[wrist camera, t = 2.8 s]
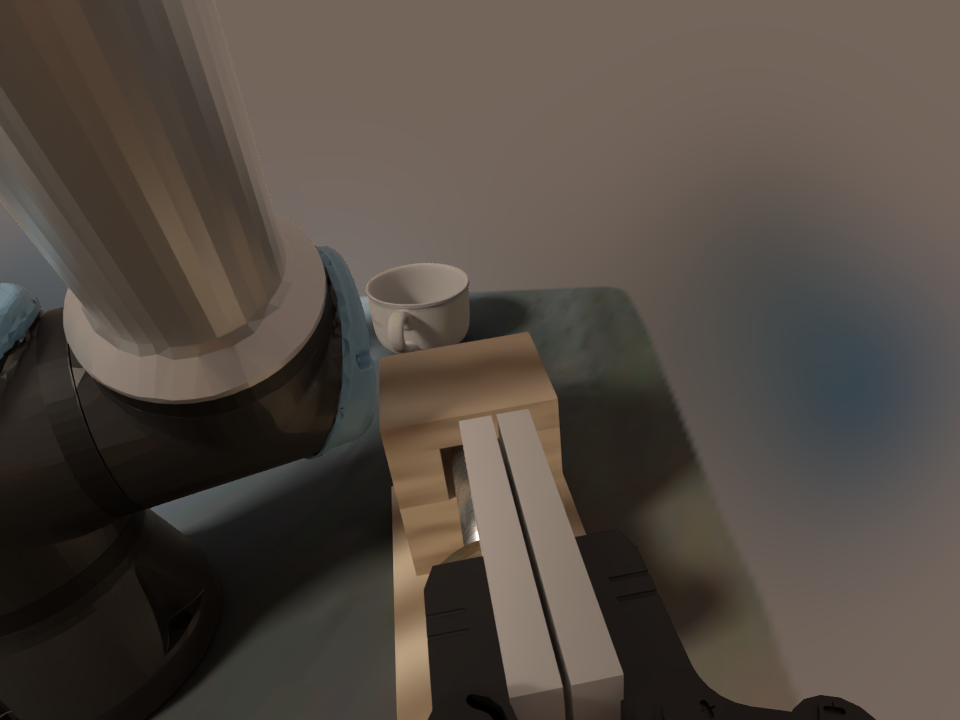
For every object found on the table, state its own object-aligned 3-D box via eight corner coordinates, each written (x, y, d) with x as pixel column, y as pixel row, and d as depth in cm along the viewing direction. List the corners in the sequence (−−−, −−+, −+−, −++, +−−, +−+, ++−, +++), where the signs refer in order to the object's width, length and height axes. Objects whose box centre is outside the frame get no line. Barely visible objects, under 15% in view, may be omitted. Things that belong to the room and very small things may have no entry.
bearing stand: (682, 808, 29) (703, 628, 22) (406, 869, 28) (336, 703, 21) (557, 470, 49) (546, 321, 42) (395, 500, 49) (357, 353, 42)
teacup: (408, 319, 75) (395, 257, 71) (491, 326, 71) (483, 261, 67) (346, 382, 64) (327, 314, 60) (440, 395, 60) (427, 323, 56)
